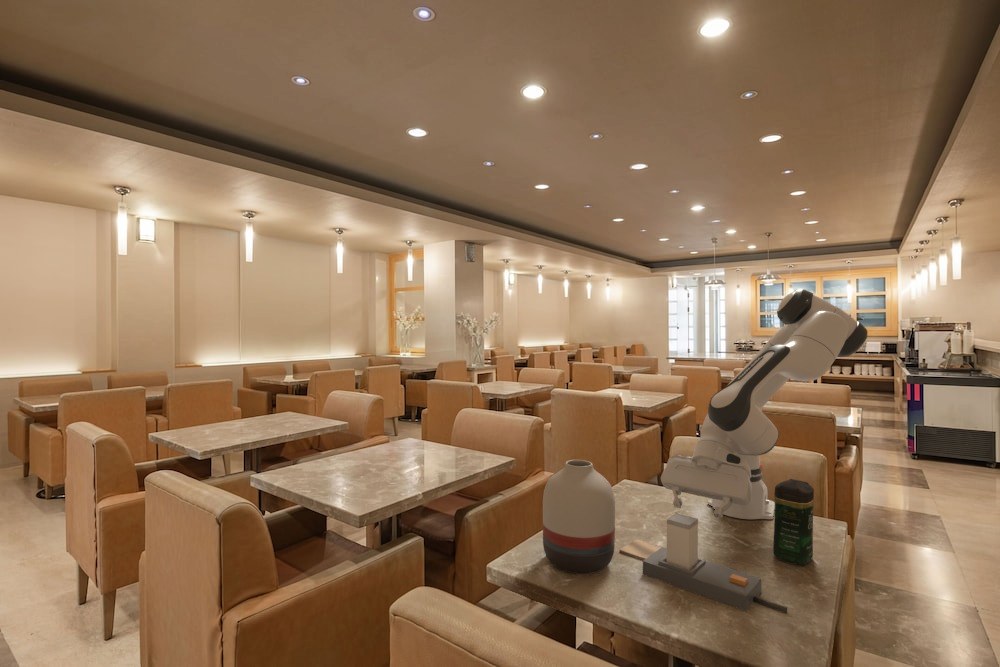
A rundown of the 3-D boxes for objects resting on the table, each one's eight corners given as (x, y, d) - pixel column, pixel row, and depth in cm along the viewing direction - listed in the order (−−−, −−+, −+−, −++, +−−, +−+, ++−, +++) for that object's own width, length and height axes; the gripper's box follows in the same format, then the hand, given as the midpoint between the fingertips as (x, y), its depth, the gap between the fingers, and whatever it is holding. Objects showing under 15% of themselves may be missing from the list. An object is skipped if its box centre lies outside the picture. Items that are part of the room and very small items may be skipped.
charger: (675, 556, 117) (676, 513, 117) (697, 563, 113) (698, 518, 113) (666, 563, 113) (666, 519, 113) (688, 571, 109) (689, 525, 109)
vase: (599, 587, 108) (600, 477, 108) (530, 567, 117) (530, 465, 117) (624, 557, 123) (624, 460, 123) (560, 541, 132) (561, 451, 131)
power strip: (661, 559, 121) (662, 543, 121) (793, 602, 103) (793, 584, 103) (642, 574, 114) (642, 557, 114) (780, 623, 95) (780, 603, 95)
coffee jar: (806, 570, 117) (807, 490, 116) (769, 558, 122) (770, 482, 122) (817, 556, 124) (817, 481, 123) (781, 546, 129) (782, 474, 129)
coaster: (636, 541, 132) (636, 538, 132) (669, 551, 126) (669, 549, 126) (619, 552, 125) (619, 549, 125) (653, 563, 119) (653, 561, 119)
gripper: (666, 446, 129) (649, 494, 122) (753, 460, 116) (739, 514, 108) (673, 460, 133) (657, 507, 125) (758, 475, 119) (745, 529, 112)
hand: (696, 511), depth 117 cm, fingers open, 8 cm apart
